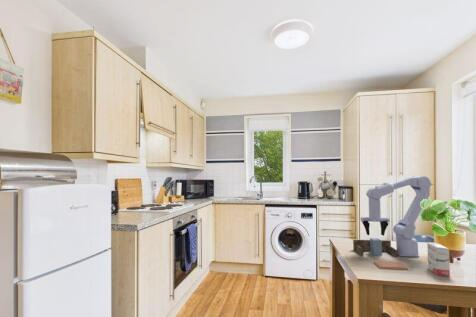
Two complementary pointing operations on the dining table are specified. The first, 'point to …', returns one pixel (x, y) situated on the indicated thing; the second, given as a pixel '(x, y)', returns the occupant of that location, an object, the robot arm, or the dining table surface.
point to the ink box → (438, 259)
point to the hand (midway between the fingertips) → (375, 234)
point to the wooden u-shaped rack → (365, 246)
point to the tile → (390, 265)
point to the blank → (376, 246)
